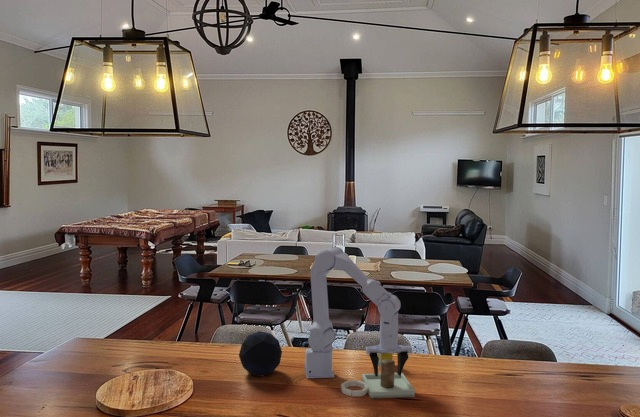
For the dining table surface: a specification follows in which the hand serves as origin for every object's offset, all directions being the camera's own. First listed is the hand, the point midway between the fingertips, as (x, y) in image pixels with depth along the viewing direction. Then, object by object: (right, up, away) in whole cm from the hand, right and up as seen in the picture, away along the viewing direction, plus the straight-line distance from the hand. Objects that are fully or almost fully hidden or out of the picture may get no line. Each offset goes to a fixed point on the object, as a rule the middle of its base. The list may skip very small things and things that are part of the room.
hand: (387, 374), depth 161 cm
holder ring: (-11, -4, -2) cm, 12 cm away
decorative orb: (-43, -3, +10) cm, 44 cm away
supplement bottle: (+2, -3, +20) cm, 20 cm away
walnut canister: (0, -4, 0) cm, 4 cm away
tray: (0, -4, 0) cm, 4 cm away
